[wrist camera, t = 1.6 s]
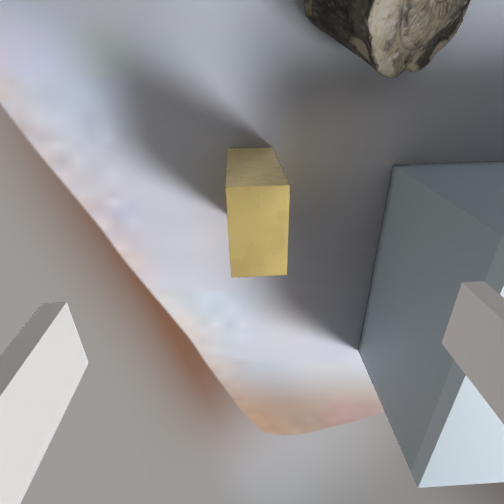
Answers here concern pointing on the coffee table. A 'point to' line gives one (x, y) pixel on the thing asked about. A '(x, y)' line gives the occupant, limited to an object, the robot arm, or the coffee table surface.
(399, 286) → the coin box
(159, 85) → the coffee table surface
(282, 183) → the block
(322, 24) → the fossil
